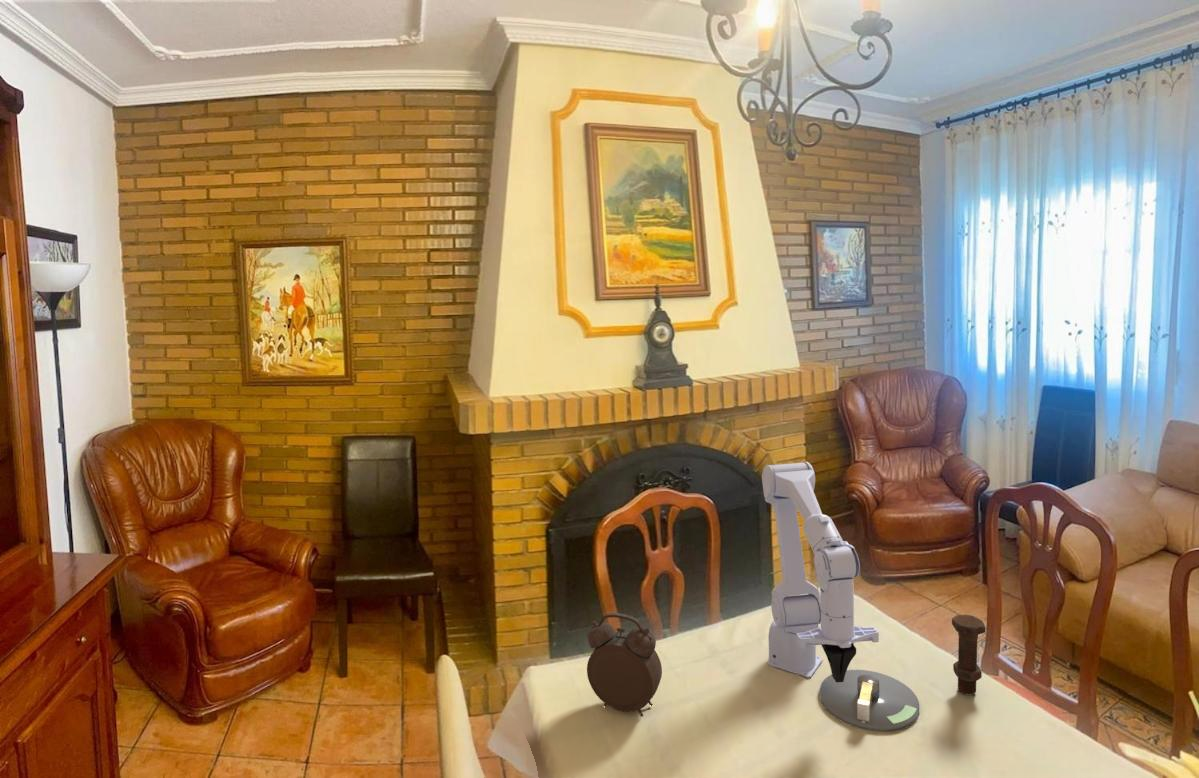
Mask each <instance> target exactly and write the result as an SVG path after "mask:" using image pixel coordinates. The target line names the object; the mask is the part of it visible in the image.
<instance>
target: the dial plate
mask: <svg viewBox="0 0 1199 778" xmlns="http://www.w3.org/2000/svg"><path fill="white" fill-rule="evenodd" d="M861 675H871V676H874V677H876V678H877V679H878V680H879V699H878V700H876V701H872V705H871V711H870V719H869V722H868V721H864V720H860V719H857V702H858V699H859V696H858V694H857V678H858V677H859V676H861ZM819 697H820V700H821V704H822V705H823V707H824V708H825V709H826V711H828V713H829V714H831V715H832V716H833V717H835V718H836V719H838V720H839V721H841V722H843V723H845V724H847V725H850V726H852V727H856V728H858V729H862V730H866V731H873V732H884V733H885V732H895V731H900V730H904V729H906V728H908V727H910V726H912V725H913V724H914V723H915V722H916V721H917V720H918V718H919V715H920V702H919V699H918V697H917V695H916V694H915V692H914V691H913V690H912V689H911V688H910V687H909V686H908V685H906V684H905V683H904V682H902V681H900V680H898V679H896V678H894V677H892V676H889V675H888V674H884V673H880V672H877V671H872V670H865V669H847V671H846V674H845V677H844V682H836V681H835V680H834V678H833V677H832V674H830V675H828V676H827V677H826V678H824V680H823V681H822V682H821V683H820V687H819Z"/></svg>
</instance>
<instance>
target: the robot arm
mask: <svg viewBox="0 0 1199 778" xmlns="http://www.w3.org/2000/svg"><path fill="white" fill-rule="evenodd" d="M761 482H762V490H763V491H762V492H763V497H764V501H765V502H766V503H768V504H771V505H772V508H773V513H774V519H775V520H774V521H775V528H776V536H777V545H778V552H779V558H780V559H779V560H780V566H781V573H782V580H781V581H780V582H779V583H778V584H777V585H776V586H775V587H774V588H772V591H771V606H770V607H771V614H772V619H773V620H772V622H771V623H770V626H769V631H768V661H767V665H768V666H771V667H774V668H776V669H777V668H778V669H780V670H783V671H787V672H790V673H793V674H796V675H798V676H802V677H806V678H808V679H809V678H811V677H812V676H813V674H814V673H815V672H816V671H817V669H818V668H819V667H820V665H821V664H822V662H823V661H824V659H823V657H820V656H817V647H816V646H821V648H822V649H823V651H824V653H825V656H826V658H827V661H828V664H829V667H830V671H831V675H832V677H833V678H834V680H835V681H836V682H844V677H845V674H846V671H847V670H848V668H849V666H850V664H851V661H852V660H853V659H854V657H855V656H856V655H857V648H856V646H855V643H858V642H859V643H860V642H870V641H871V642H872V643H879V641H880V639H879V636H880V634H879V631H878V630H877V629H876V628H875V627H874V626H871V627H869V626H855V615H854V614H855V605H854V603H855V602H854V601H855V598H854V593H855V592H854V588H855V587H854V586H855V585H854V582H855V581H854V578H858V577H859V576H860V572H861V565H860V559H859V554H858V552H857V550H856V548H855V546H853V545H852V544H849V542H848V541H847V540H845V541H844V540H843V538H842V536H841V534H840V532H839V531H838V529H837V526H836V525H835V523H834V522H833V520H832V518H831V517H830V516H829V515H827V514H823V512H822V510H821V507H820V504H819V502H818V500H817V496H816V494H815V487H816V486H815V485H816V474H815V470H814V467H813V466H812V464H811V463H810V462H808V461H803V462H797V463H784V464H783V463H781V464H771V465H770V464H765V466H764V467H763V470H762V474H761ZM798 512H799V514H800V516H801V518H802V519H803V520H804V523H803V525H802V530H803V533H804V535H805V537H806V539H807V542H808V544H809V547H811V550H812V552H813V554H814V558H813V562H814V564H813V565H814V568H815V572H816V582H817V586H819V587H817V586H816V585H814V584H813V583H812V582H810V581H808V580H807V577H806V568H805V563H804V562H805V561H804V555H803V548H802V547H803V546H802V540H801V532H800V531H801V530H800V523H799V518H798V516H799V515H798ZM819 588H820V589H819ZM819 590H820V591H819ZM819 625H820V627H819Z"/></svg>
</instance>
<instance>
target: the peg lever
mask: <svg viewBox="0 0 1199 778" xmlns="http://www.w3.org/2000/svg"><path fill="white" fill-rule="evenodd" d="M857 694H858V696H859V699H858V702H857V719H860V720H864V721H868V722H869V719H870V711H871V705H872V701H876V700H878V699H879V680H878V679H877V678H876V677H874V676H871V675H861V676H859V677H858V678H857Z"/></svg>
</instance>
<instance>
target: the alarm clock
mask: <svg viewBox="0 0 1199 778" xmlns="http://www.w3.org/2000/svg"><path fill="white" fill-rule="evenodd" d="M608 618H617V619H623V620H626V621H627V620H628V621H629V622H632V623H634V624H635V625H636V627H634V628H633V629H632V630H630V631H626V629H625V628H622V627H617V628H616V629H615V627H613V626H612V625H611V624H610V623H609V622H606V621H605V620H606V619H608ZM591 625H592V626H591V628H590V629H589V631H588V632H587V641H588V642H587V643H588V645H589V647H590V649H594V650H593V652H592V653H591V654H590V655H589V658H588V661H587V666H586V674H587V679H588V682H589V684H590V686H591V689H592V691H593V692H594V693H595V695H596V696H597V697H598V698H599V700H600V701H601V702H602V703H604V704H603V705H604V706H606V707H607V706H608V707H610V708H612V709H614V710H616V711H619V712H624V713H634V712H638V713H639V715H640V717H641V716H642V717H644V714H643V712H642V709H644V708H645V706H647V704H649V705H651V706H652V705H654V704H653V703H652V701H651V700H652V699H653V697H654V696H655V694H656V692H657V690H658V688H659V685H660V683H661V679H662V674H663V668H662V663H661V659H660V657H659V655H658V653H657V651H656V650H655V649H656V643H657V640H656V637H655V635H654V634H653V632H652V631H651V630H650V628H649V627H644V626H643V624H642V623H641V622H640V620H639V619H638V618H636V617H634V616H632V615H628V614H625V613H619V612H609V613H606V614H603V616H602V618H601V619H600V621H599V622H597V621H595V620H593V621H591ZM652 707H653V706H652Z"/></svg>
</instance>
